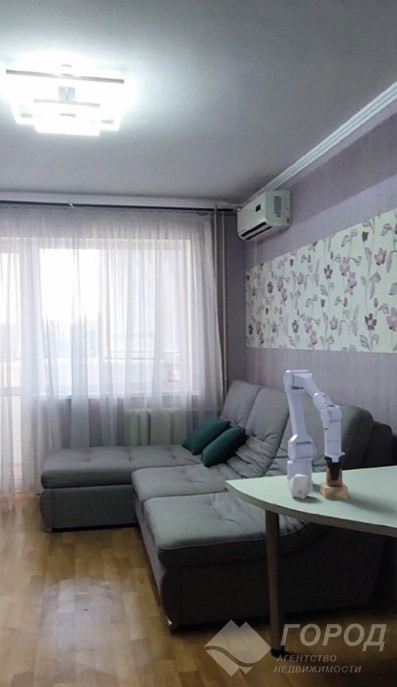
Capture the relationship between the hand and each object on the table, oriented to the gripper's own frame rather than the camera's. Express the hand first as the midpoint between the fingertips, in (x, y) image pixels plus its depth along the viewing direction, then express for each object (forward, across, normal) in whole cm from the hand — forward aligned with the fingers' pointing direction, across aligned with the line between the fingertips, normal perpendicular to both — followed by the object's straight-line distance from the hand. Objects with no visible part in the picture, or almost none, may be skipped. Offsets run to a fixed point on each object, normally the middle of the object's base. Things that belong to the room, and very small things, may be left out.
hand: (333, 478), depth 202 cm
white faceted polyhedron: (+6, -3, +12) cm, 14 cm away
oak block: (+6, 0, 0) cm, 6 cm away
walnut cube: (+2, 0, 0) cm, 2 cm away
